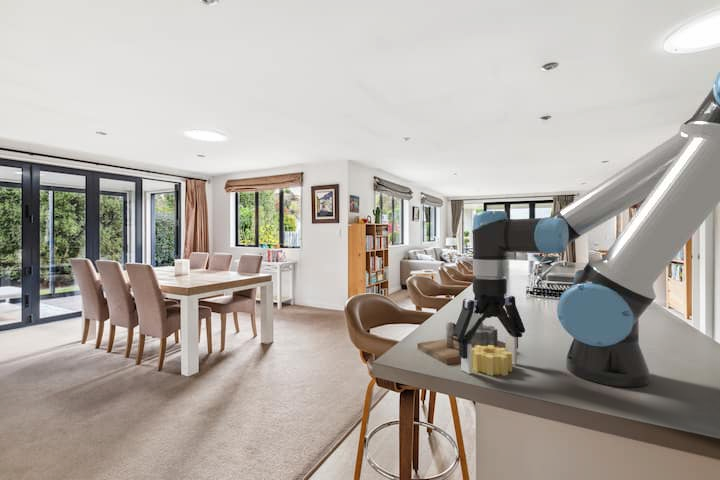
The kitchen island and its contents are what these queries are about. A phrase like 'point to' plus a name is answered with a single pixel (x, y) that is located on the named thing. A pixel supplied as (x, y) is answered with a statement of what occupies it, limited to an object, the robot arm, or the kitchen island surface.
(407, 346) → the kitchen island surface
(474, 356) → the mustard gear
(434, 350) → the gear board
